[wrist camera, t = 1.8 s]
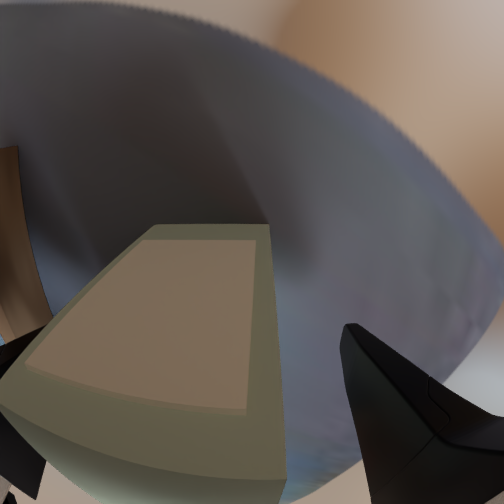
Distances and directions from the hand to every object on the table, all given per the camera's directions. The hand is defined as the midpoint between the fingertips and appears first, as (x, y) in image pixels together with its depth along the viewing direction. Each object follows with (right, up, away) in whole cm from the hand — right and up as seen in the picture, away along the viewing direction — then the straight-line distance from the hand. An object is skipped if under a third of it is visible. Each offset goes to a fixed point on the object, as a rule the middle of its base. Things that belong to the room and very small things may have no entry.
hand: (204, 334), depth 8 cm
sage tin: (0, +1, +2) cm, 2 cm away
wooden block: (-10, +2, +2) cm, 10 cm away
